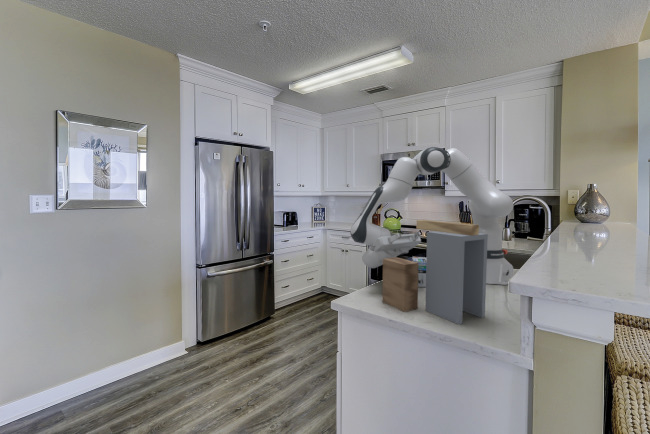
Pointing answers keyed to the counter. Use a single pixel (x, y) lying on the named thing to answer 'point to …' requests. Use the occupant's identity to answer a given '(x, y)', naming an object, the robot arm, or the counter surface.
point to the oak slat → (448, 227)
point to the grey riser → (456, 275)
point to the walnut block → (400, 283)
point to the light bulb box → (421, 270)
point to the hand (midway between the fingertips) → (409, 234)
